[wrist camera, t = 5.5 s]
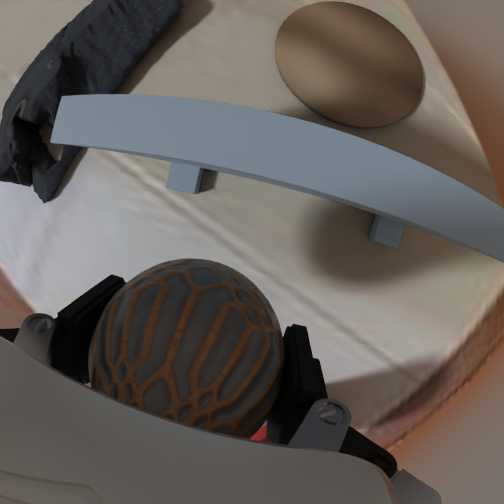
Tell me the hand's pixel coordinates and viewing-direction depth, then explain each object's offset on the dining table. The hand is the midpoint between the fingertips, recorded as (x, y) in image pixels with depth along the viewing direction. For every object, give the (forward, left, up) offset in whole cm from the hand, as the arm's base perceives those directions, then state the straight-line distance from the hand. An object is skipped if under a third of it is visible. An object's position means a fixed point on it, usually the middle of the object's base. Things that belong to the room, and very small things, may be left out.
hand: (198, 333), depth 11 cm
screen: (-7, +3, -9) cm, 12 cm away
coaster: (-17, +5, -9) cm, 20 cm away
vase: (0, 0, -2) cm, 2 cm away
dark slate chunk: (-14, -18, -9) cm, 24 cm away
